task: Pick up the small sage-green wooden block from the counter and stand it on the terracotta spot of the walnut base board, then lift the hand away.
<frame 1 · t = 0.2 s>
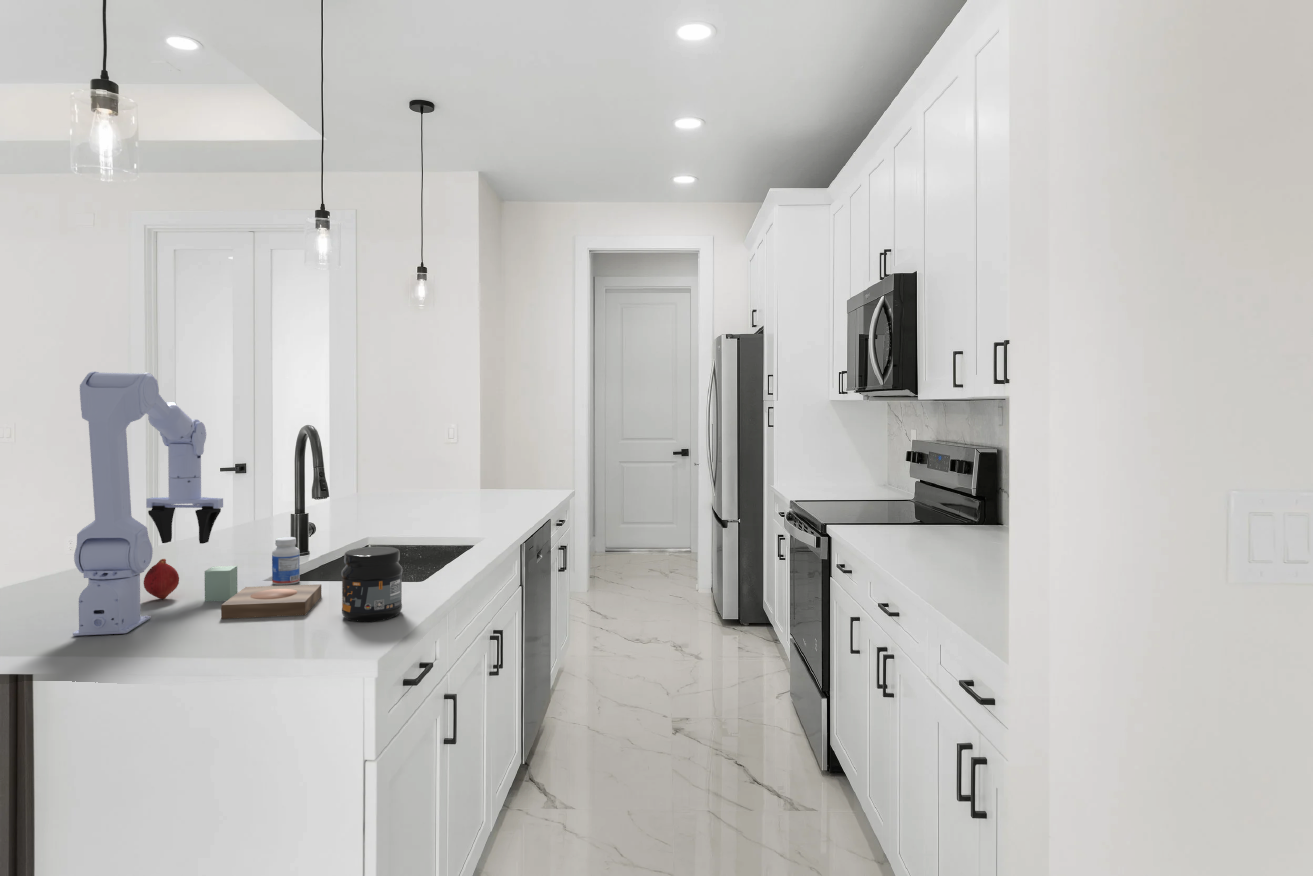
hand: (185, 542, 155), 10 cm above the counter, fingers open, 7 cm apart
sage block: (221, 598, 149), on the counter
walnut base: (274, 607, 143), on the counter
supplement container: (372, 616, 139), on the counter
onion: (161, 600, 148), on the counter
pill bottle: (286, 583, 163), on the counter
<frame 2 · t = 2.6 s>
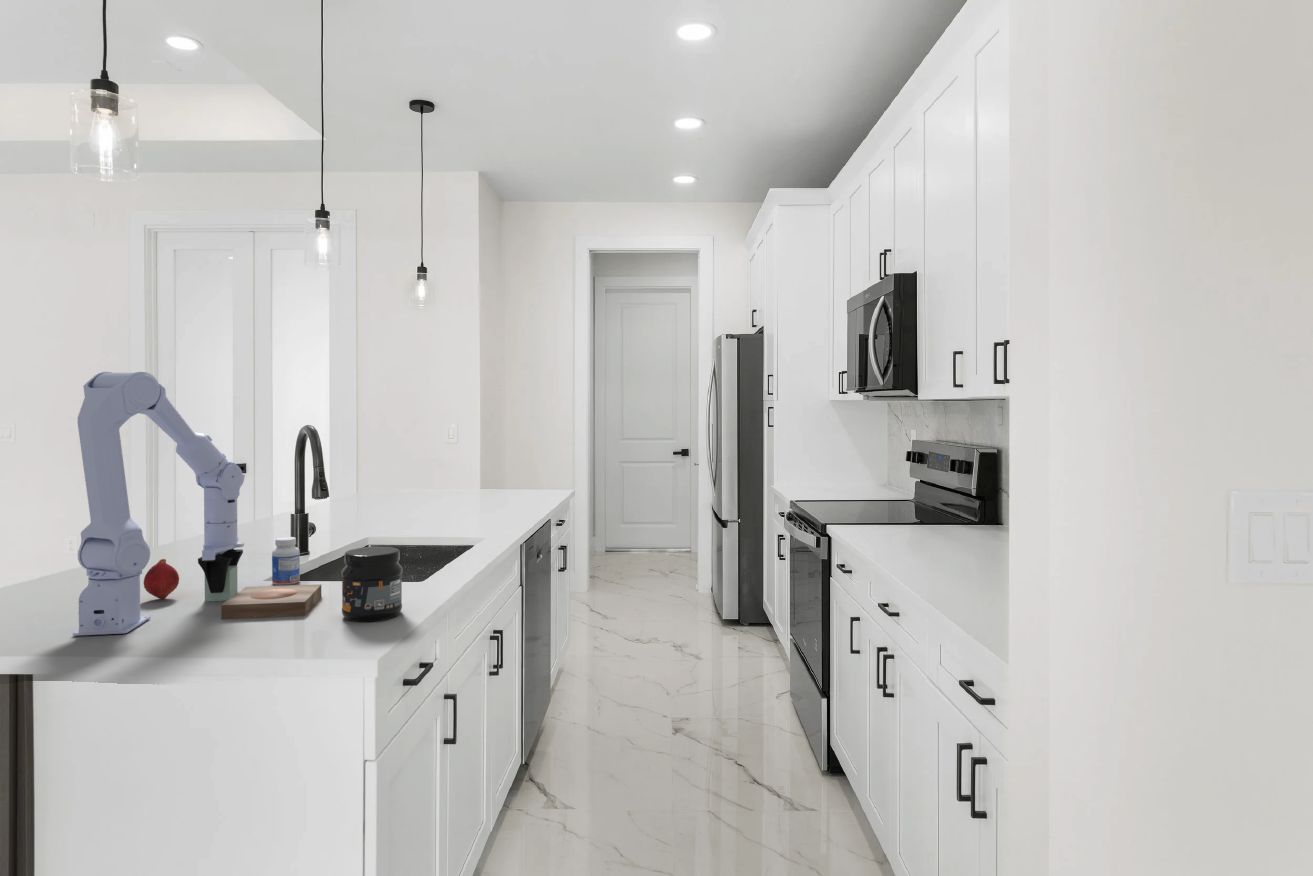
hand: (221, 589, 149), 2 cm above the counter, fingers closed on sage block, 4 cm apart
sage block: (221, 598, 149), on the counter, touching gripper
everything else where it was.
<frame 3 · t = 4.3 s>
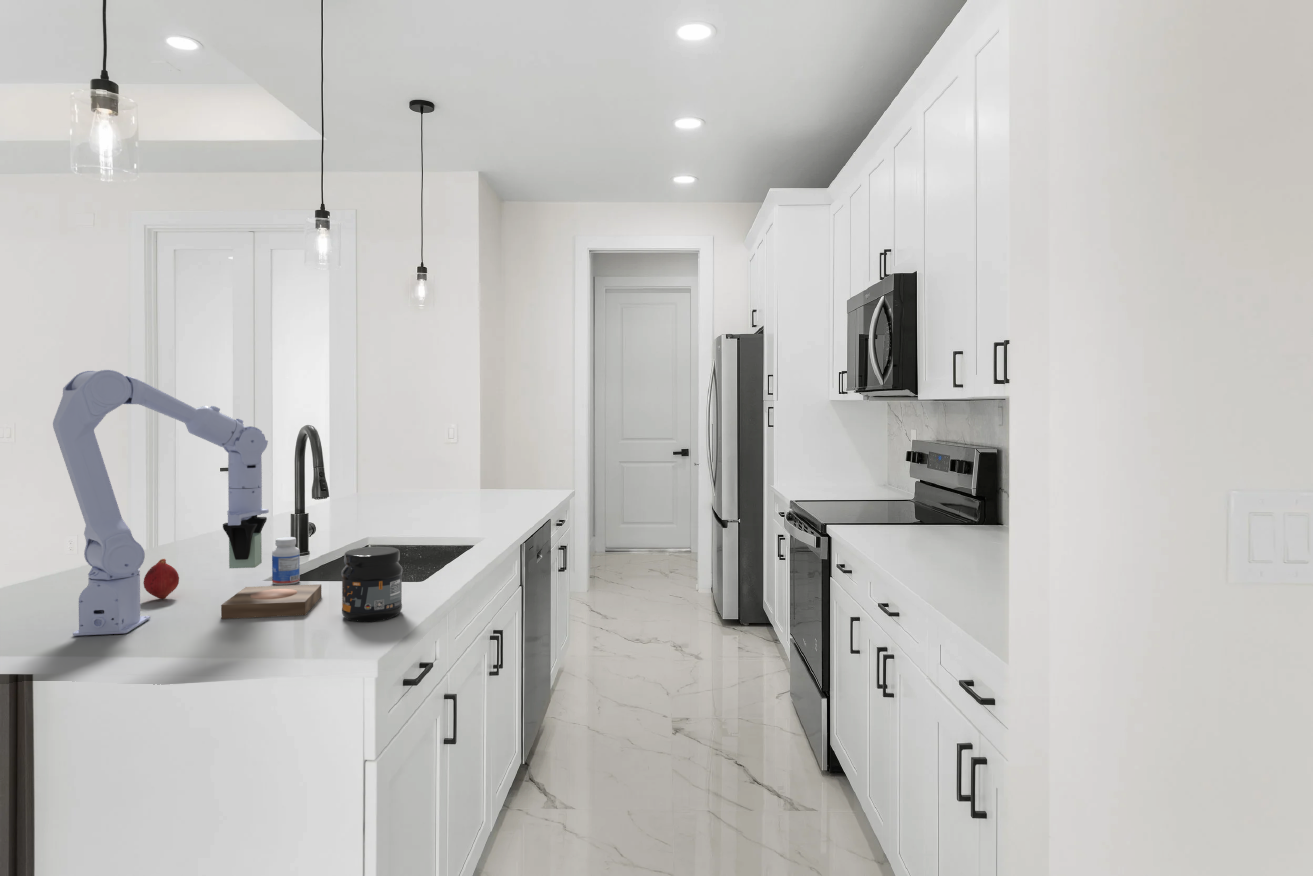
hand: (245, 556, 146), 9 cm above the counter, fingers closed on sage block, 4 cm apart
sage block: (245, 565, 146), point 7 cm above the counter, touching gripper
everything else where it was.
when the fingers open (5 cm above the counter, at t = 6.3 s): sage block stays where it is, resting on walnut base.
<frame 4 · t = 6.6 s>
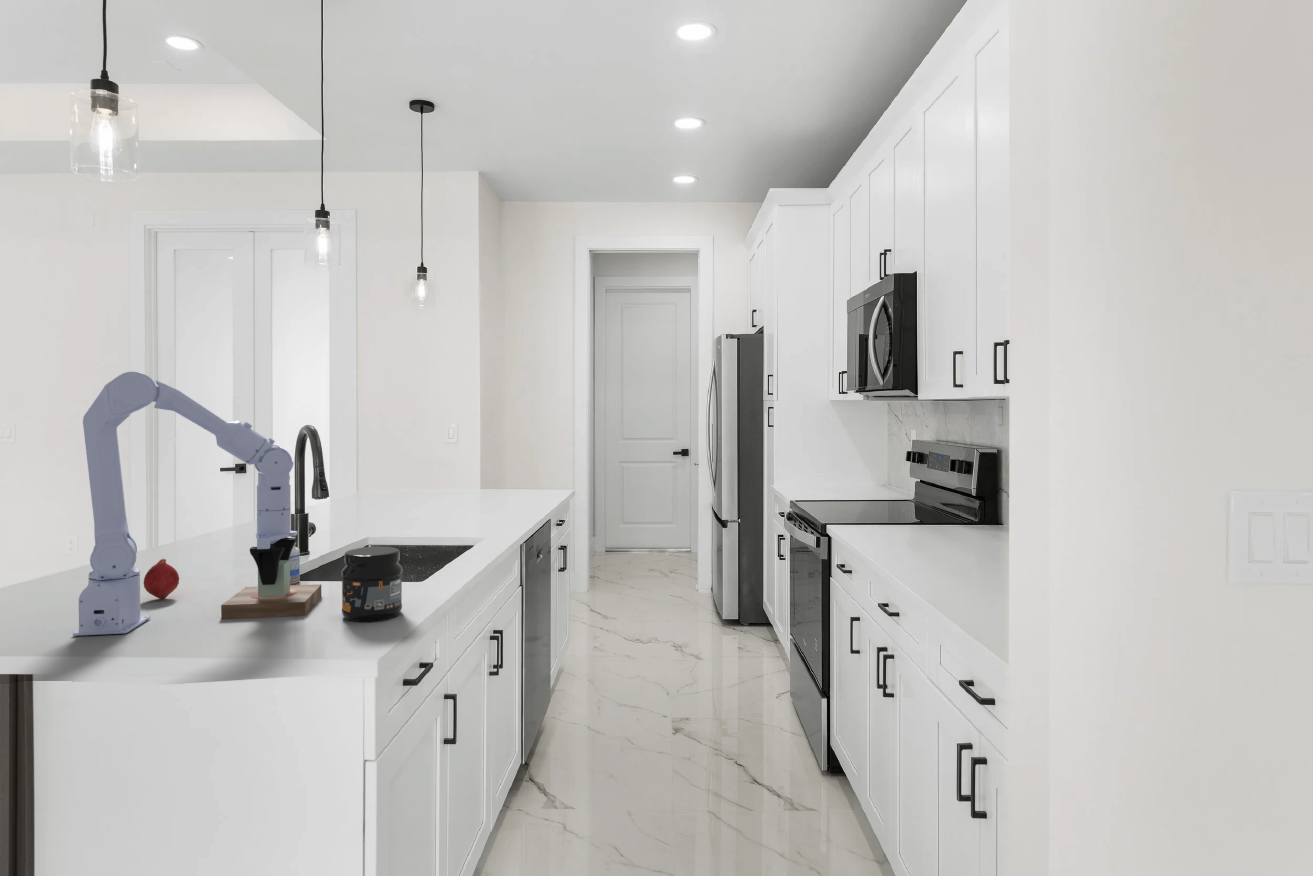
hand: (274, 580, 143), 5 cm above the counter, fingers open, 7 cm apart
sage block: (274, 593, 143), point 3 cm above the counter, touching walnut base
everything else where it was.
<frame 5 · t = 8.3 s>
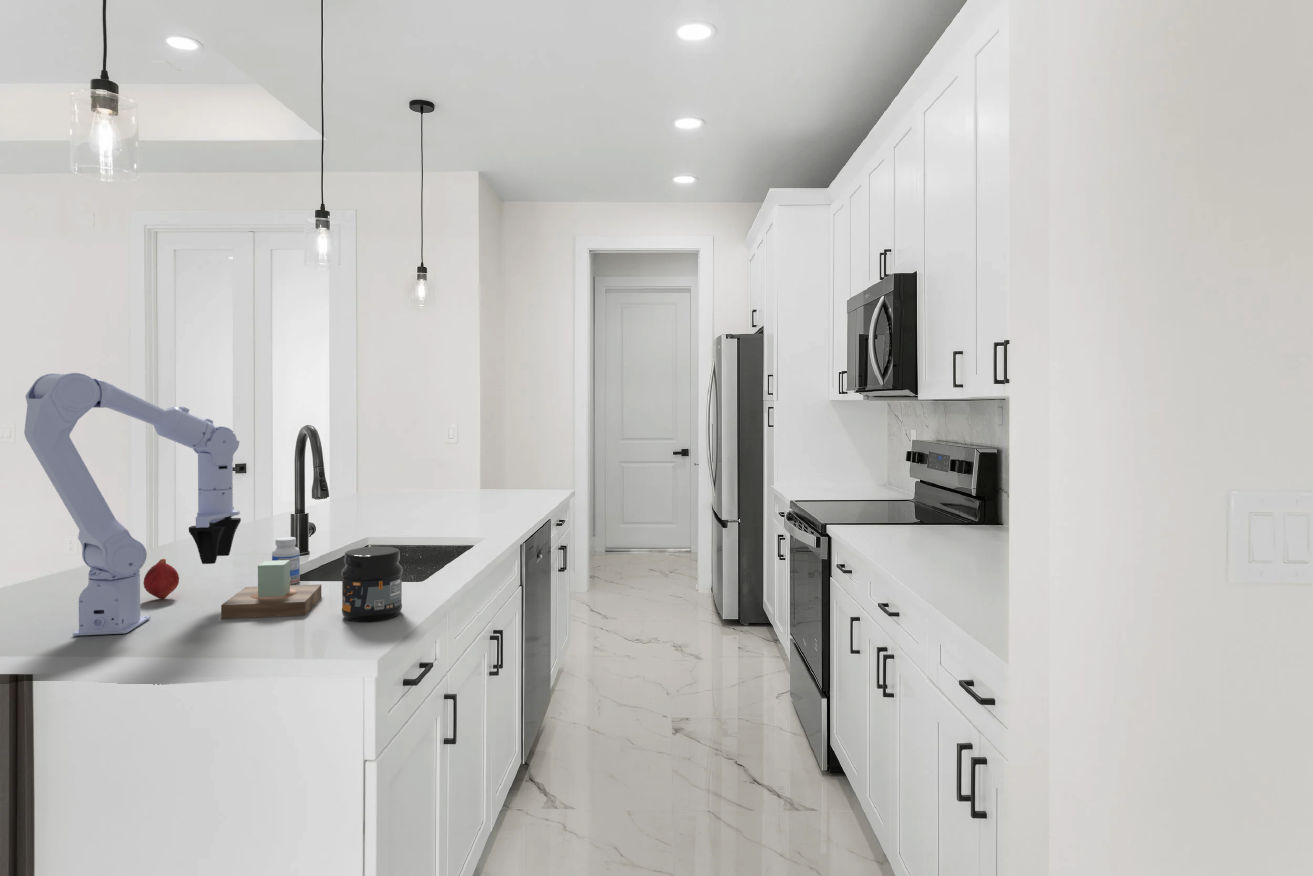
hand: (216, 559, 143), 9 cm above the counter, fingers open, 7 cm apart
nothing on the counter moved.
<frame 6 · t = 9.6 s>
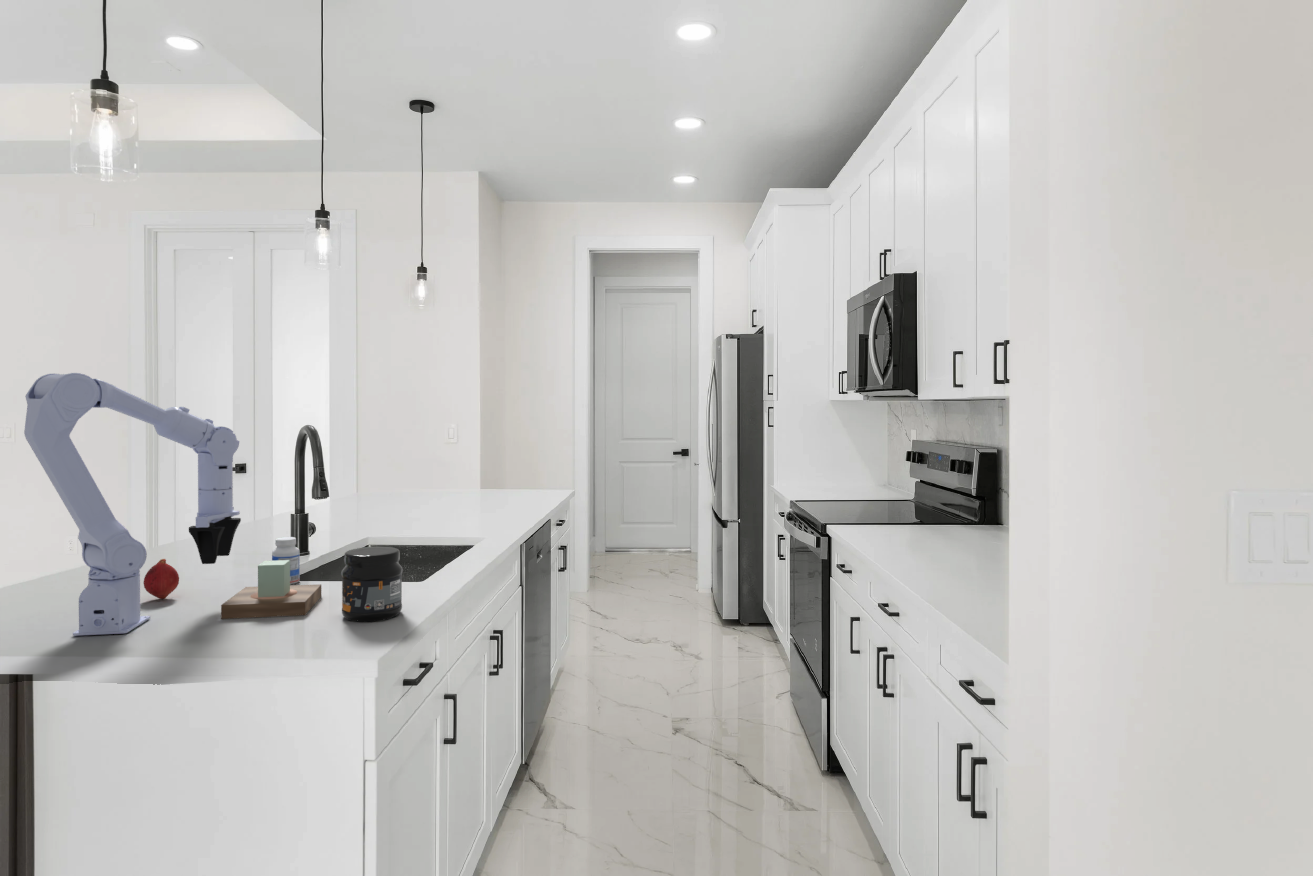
hand: (216, 559, 143), 9 cm above the counter, fingers open, 7 cm apart
nothing on the counter moved.
at the end: sage block 0.0 cm off-centre on the walnut base, point 2.5 cm above the walnut base's base; sage block tilted 0°; the gripper is holding nothing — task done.
